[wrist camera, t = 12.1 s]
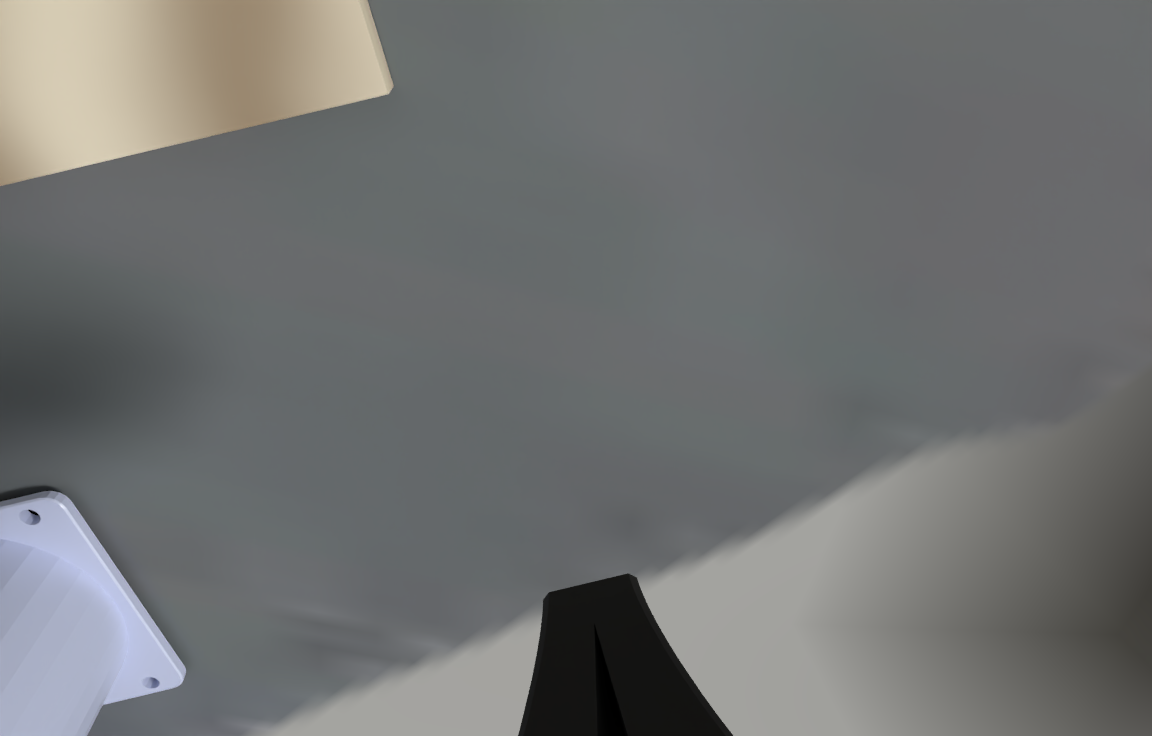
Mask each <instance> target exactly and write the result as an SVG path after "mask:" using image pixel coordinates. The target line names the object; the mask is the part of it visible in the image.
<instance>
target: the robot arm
mask: <svg viewBox="0 0 1152 736" xmlns="http://www.w3.org/2000/svg"><path fill="white" fill-rule="evenodd" d="M28 510H32V511H35V512H36V513H38V514H39V515H40V516H37V515H34V514H32V513H30V512H29V511H28ZM185 674H186V669H185V666H184V665H183V663H182V662H181V660H180V659H179V657H178V656H177V655H176V653H175V652H174V650H173V649H172V647H171V646H170V644H169V643H168V641H167V640H166V639H165V637H164V636H163V634H162V633H161V631H160V630H159V628H158V627H157V625H156V624H155V622H154V621H153V620H152V618H151V617H150V615H149V614H148V612H147V611H146V609H145V608H144V606H143V605H142V603H141V602H140V601H139V599H138V598H137V596H136V595H135V593H134V592H133V590H132V589H131V587H130V586H129V584H128V583H127V582H126V580H125V579H124V577H123V576H122V574H121V573H120V571H119V570H118V568H117V567H116V565H115V564H114V563H113V561H112V560H111V558H110V557H109V555H108V554H107V552H106V551H105V549H104V548H103V546H102V545H101V544H100V542H99V541H98V539H97V538H96V536H95V535H94V533H93V532H92V530H91V529H90V528H89V526H88V525H87V523H86V522H85V520H84V519H83V517H82V516H81V514H80V513H79V511H78V510H77V509H76V507H75V506H74V504H73V503H72V501H71V500H70V499H69V498H68V497H67V496H65V495H63V494H62V493H60V492H55V491H43V492H39V493H35V494H31V495H26V496H22V497H18V498H14V499H10V500H5V501H1V502H0V736H87V734H88V733H89V731H90V729H91V727H92V725H93V723H94V721H95V719H96V717H97V715H98V713H99V711H100V709H101V707H102V705H104V704H108V703H113V702H117V701H121V700H125V699H129V698H134V697H138V696H142V695H146V694H150V693H155V692H159V691H163V690H167V689H171V688H175V687H177V686H179V685H180V684H181V683H182V682H183V679H184V677H185ZM152 677H153V678H152ZM518 736H733V735H732V733H731V732H730V731H729V730H728V728H727V727H726V726H725V724H724V723H723V722H722V721H721V719H720V718H719V717H718V715H717V714H716V713H715V711H714V710H713V708H712V707H711V706H710V704H709V703H708V702H707V700H706V699H705V697H704V696H703V695H702V694H701V692H700V690H699V689H698V687H697V686H696V684H695V683H694V681H693V680H692V679H691V677H690V676H689V674H688V673H687V671H686V670H685V668H684V667H683V665H682V664H681V662H680V661H679V659H678V658H677V656H676V654H675V653H674V651H673V650H672V648H671V646H670V645H669V643H668V641H667V640H666V638H665V636H664V635H663V633H662V631H661V629H660V628H659V626H658V624H657V623H656V620H655V618H654V617H653V615H652V613H651V611H650V609H649V607H648V605H647V603H646V600H645V598H644V596H643V593H642V591H641V589H640V586H639V583H638V580H637V578H636V577H634V576H632V575H630V574H624V575H620V576H616V577H612V578H607V579H603V580H599V581H595V582H591V583H586V584H582V585H578V586H574V587H570V588H565V589H561V590H557V591H553V592H549V593H548V594H547V596H546V597H545V598H544V599H543V614H542V623H541V632H540V639H539V645H538V651H537V656H536V661H535V667H534V672H533V677H532V681H531V686H530V690H529V694H528V698H527V702H526V706H525V711H524V715H523V719H522V723H521V727H520V731H519V735H518Z"/></svg>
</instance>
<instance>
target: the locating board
mask: <svg viewBox="0 0 1152 736" xmlns="http://www.w3.org/2000/svg"><path fill="white" fill-rule="evenodd" d="M393 87H394V85H393V82H392V79H391V76H390V72H389V69H388V66H387V63H386V59H385V56H384V53H383V50H382V46H381V43H380V40H379V37H378V33H377V30H376V27H375V24H374V20H373V17H372V14H371V11H370V7H369V4H368V1H367V0H0V186H2V185H6V184H11V183H15V182H19V181H23V180H27V179H32V178H36V177H40V176H44V175H49V174H53V173H57V172H61V171H65V170H70V169H74V168H78V167H82V166H87V165H91V164H95V163H99V162H104V161H108V160H112V159H116V158H120V157H125V156H129V155H133V154H137V153H142V152H146V151H150V150H154V149H159V148H163V147H167V146H171V145H175V144H180V143H184V142H188V141H192V140H197V139H201V138H205V137H209V136H213V135H218V134H222V133H226V132H230V131H235V130H239V129H243V128H247V127H252V126H256V125H260V124H264V123H268V122H273V121H277V120H281V119H285V118H290V117H294V116H298V115H302V114H306V113H311V112H315V111H319V110H323V109H328V108H332V107H336V106H340V105H345V104H349V103H353V102H357V101H361V100H366V99H370V98H374V97H378V96H383V95H387V94H389V92H390V91H391V89H392V88H393Z"/></svg>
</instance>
